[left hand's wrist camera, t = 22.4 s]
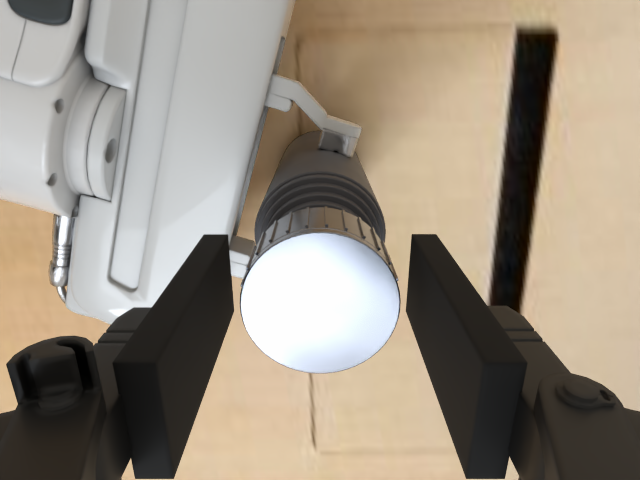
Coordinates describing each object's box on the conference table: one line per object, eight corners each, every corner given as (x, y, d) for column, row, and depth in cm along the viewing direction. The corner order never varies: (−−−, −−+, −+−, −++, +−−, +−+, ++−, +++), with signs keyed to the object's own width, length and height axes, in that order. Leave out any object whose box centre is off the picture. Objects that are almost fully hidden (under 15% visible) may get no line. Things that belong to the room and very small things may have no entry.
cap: (283, 180, 13) (276, 201, 11) (415, 241, 14) (433, 271, 12) (229, 301, 15) (213, 340, 13) (351, 351, 15) (356, 396, 13)
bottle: (264, 158, 29) (194, 269, 13) (333, 114, 28) (350, 173, 12) (308, 223, 30) (294, 394, 14) (374, 183, 29) (439, 318, 13)
